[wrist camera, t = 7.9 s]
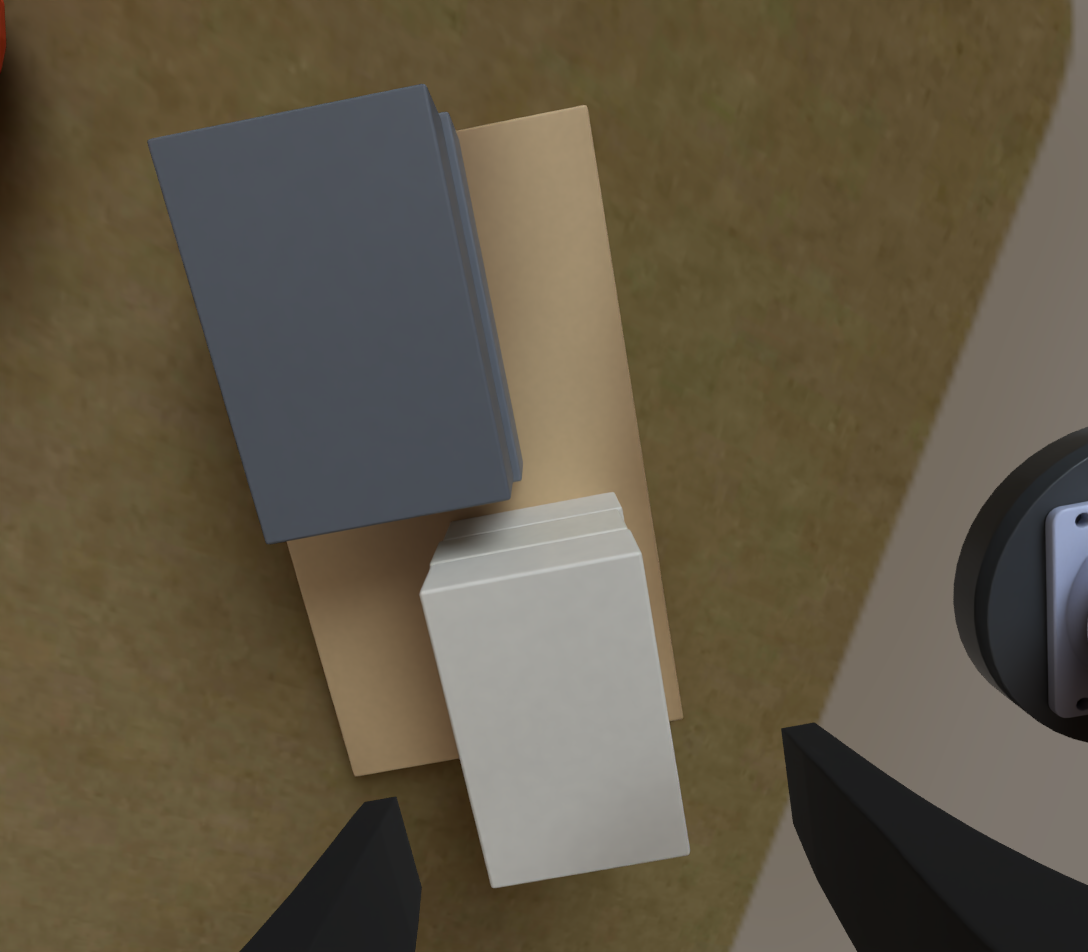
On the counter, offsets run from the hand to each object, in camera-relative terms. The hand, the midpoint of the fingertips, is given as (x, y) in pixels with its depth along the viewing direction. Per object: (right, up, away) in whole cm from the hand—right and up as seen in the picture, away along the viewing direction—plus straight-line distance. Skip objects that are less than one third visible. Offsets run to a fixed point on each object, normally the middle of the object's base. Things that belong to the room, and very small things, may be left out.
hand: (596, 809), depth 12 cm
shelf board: (-4, +6, +8) cm, 11 cm away
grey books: (-5, +10, +6) cm, 13 cm away
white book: (-1, +1, +5) cm, 5 cm away
